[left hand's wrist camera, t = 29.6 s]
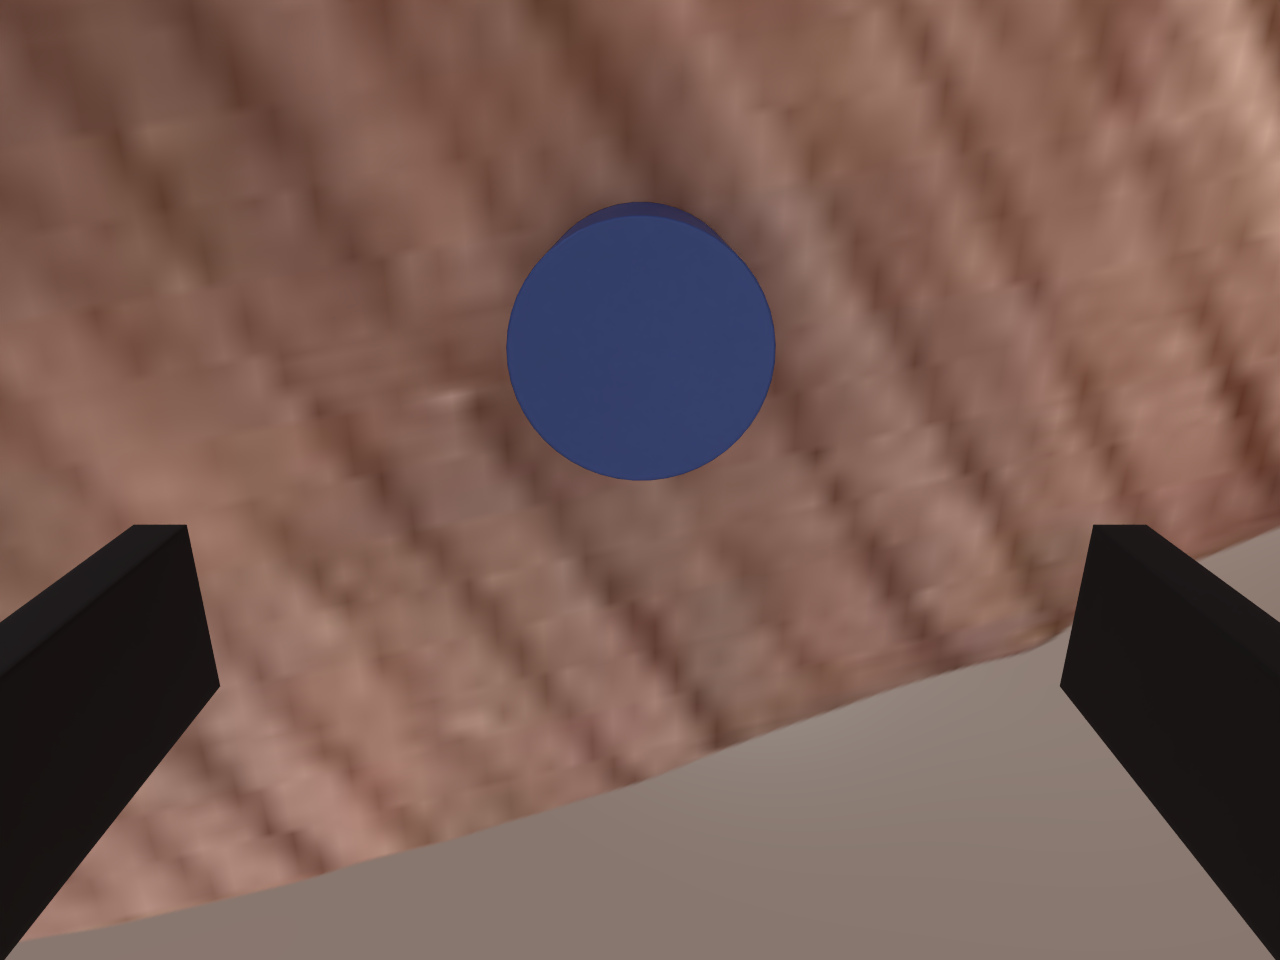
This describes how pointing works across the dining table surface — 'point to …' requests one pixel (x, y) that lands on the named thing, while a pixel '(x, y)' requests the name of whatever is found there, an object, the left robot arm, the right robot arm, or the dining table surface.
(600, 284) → the blue cylinder
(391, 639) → the dining table surface
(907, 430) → the dining table surface
